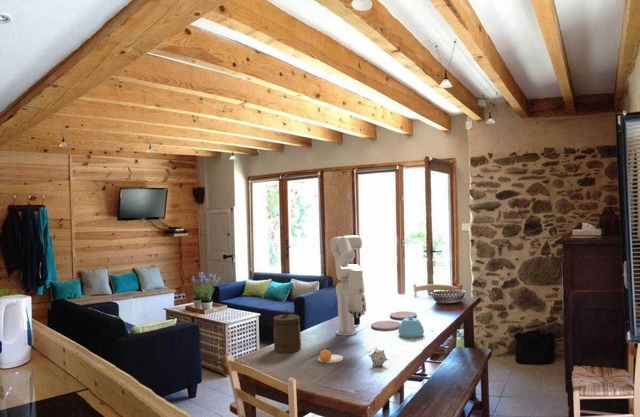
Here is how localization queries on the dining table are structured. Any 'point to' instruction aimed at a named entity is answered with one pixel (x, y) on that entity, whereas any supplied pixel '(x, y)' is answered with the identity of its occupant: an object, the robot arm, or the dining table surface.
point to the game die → (378, 357)
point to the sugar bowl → (411, 328)
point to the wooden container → (287, 333)
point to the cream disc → (333, 358)
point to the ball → (325, 355)
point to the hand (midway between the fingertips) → (357, 324)
